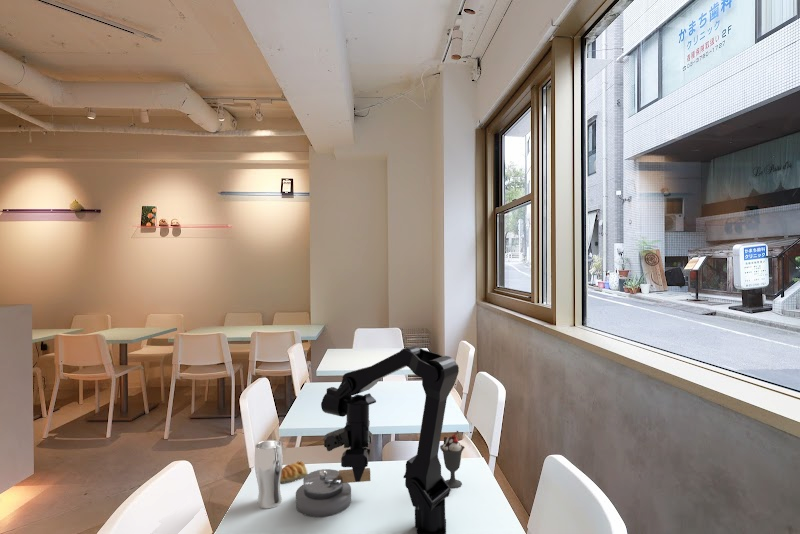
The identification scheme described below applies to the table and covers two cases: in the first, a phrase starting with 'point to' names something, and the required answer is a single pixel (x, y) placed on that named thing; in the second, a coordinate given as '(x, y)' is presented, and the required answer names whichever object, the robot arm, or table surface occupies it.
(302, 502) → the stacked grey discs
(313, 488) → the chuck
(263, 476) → the beer glass
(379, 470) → the table surface
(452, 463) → the sundae
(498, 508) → the table surface
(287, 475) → the pastry
